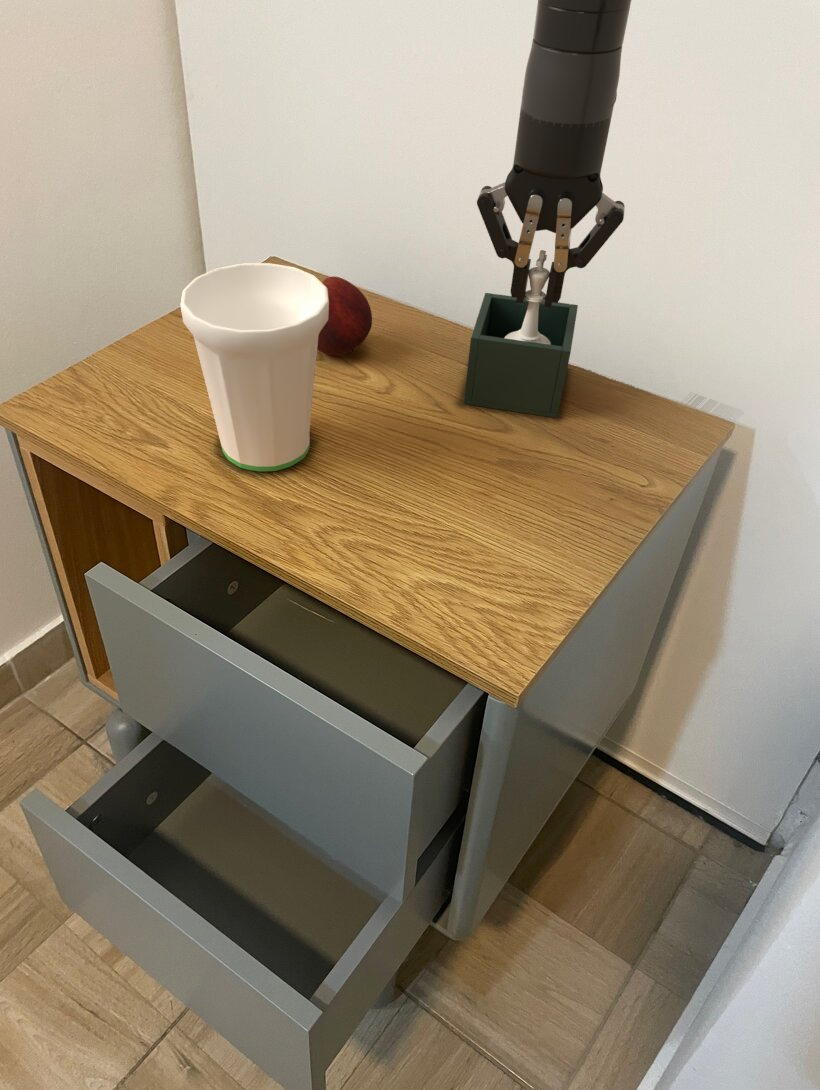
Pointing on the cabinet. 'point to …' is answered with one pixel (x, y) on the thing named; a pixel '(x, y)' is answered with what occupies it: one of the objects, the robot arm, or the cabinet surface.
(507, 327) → the bin
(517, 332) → the chess piece
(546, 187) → the robot arm
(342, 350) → the apple
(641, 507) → the cabinet surface
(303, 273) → the cup
